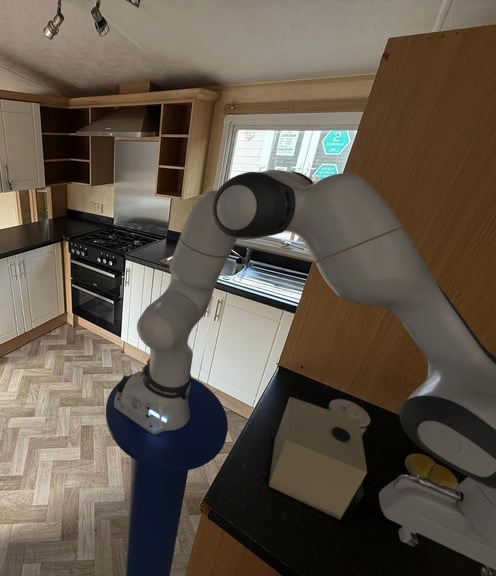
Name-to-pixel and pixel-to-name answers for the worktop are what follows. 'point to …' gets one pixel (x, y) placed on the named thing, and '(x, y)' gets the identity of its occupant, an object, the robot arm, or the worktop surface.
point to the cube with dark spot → (318, 457)
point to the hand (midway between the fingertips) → (444, 558)
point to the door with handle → (363, 506)
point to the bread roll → (430, 470)
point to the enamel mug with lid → (350, 412)
